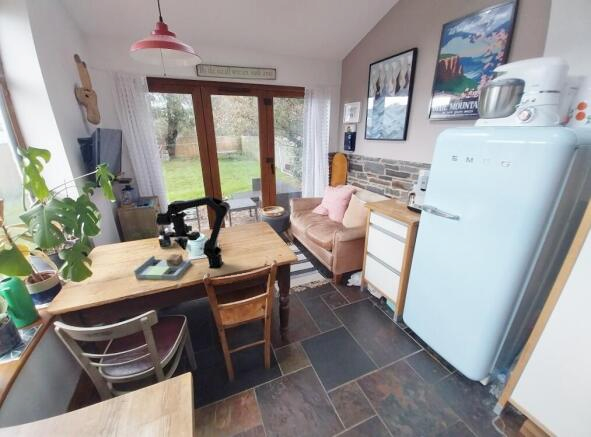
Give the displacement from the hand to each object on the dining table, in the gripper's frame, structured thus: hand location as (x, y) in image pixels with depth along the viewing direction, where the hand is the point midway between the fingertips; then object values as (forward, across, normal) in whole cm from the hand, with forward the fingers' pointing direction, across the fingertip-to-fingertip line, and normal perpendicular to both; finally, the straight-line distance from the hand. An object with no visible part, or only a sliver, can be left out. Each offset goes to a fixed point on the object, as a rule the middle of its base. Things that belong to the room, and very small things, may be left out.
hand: (184, 249), depth 137 cm
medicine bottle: (+10, +29, -24) cm, 39 cm away
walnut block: (+8, +7, +1) cm, 11 cm away
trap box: (+10, +11, +6) cm, 16 cm away
